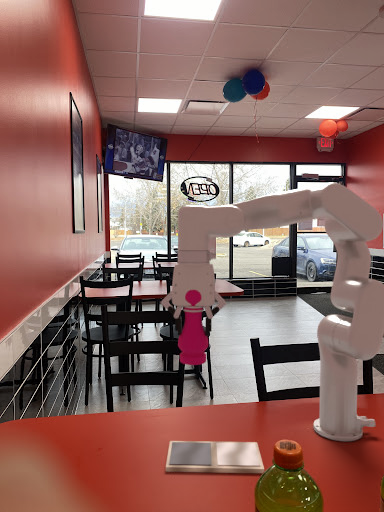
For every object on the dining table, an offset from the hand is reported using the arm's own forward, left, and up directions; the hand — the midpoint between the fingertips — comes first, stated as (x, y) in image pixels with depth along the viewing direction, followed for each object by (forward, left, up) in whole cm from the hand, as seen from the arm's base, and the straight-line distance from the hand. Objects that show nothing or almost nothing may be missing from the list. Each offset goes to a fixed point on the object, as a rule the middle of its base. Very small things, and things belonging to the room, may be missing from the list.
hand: (193, 333), depth 98 cm
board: (-5, +1, -30) cm, 30 cm away
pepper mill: (0, 0, -7) cm, 7 cm away
